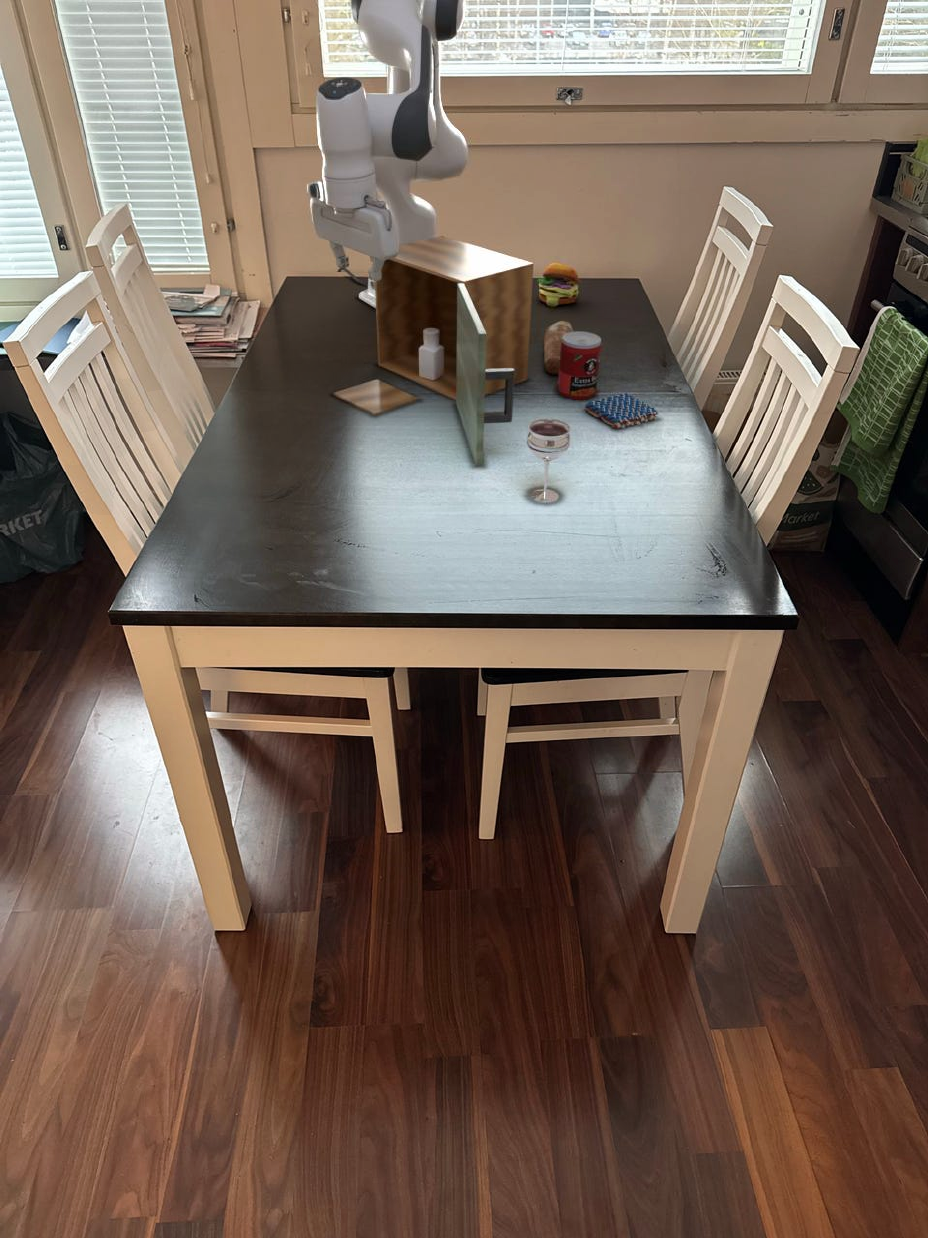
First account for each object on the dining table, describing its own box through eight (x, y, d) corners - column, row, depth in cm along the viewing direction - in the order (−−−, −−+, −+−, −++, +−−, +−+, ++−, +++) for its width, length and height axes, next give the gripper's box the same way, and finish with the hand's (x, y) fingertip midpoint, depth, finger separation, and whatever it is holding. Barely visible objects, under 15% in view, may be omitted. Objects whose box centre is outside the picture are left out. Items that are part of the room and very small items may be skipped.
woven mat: (660, 419, 174) (662, 409, 172) (616, 431, 169) (617, 421, 168) (625, 400, 181) (626, 390, 179) (582, 411, 176) (583, 401, 175)
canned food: (571, 402, 179) (576, 347, 173) (549, 388, 185) (553, 334, 178) (604, 396, 182) (610, 341, 176) (581, 381, 188) (586, 328, 181)
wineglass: (553, 510, 145) (559, 440, 138) (516, 499, 148) (519, 430, 141) (572, 493, 150) (579, 424, 143) (536, 482, 153) (540, 414, 146)
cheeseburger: (530, 304, 227) (535, 261, 223) (542, 302, 236) (547, 261, 232) (569, 309, 224) (575, 265, 220) (580, 307, 233) (586, 265, 229)
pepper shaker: (445, 375, 188) (445, 329, 182) (434, 381, 185) (434, 335, 180) (429, 371, 190) (428, 325, 184) (418, 377, 187) (417, 331, 181)
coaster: (333, 395, 181) (333, 392, 180) (377, 381, 187) (377, 378, 186) (374, 416, 173) (374, 413, 173) (418, 400, 179) (418, 398, 179)
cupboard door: (488, 402, 178) (492, 282, 165) (512, 464, 158) (519, 332, 144) (456, 404, 178) (457, 283, 164) (475, 466, 157) (478, 333, 143)
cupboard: (462, 403, 178) (464, 281, 165) (378, 365, 194) (373, 250, 180) (527, 380, 188) (533, 263, 174) (442, 345, 204) (441, 235, 190)
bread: (573, 345, 204) (575, 320, 201) (565, 378, 189) (567, 351, 186) (545, 343, 205) (546, 318, 202) (534, 375, 190) (536, 349, 187)
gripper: (404, 198, 151) (410, 282, 160) (330, 175, 162) (339, 255, 171) (374, 207, 148) (381, 292, 156) (300, 183, 159) (311, 264, 168)
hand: (359, 273), depth 164 cm, fingers open, 8 cm apart
